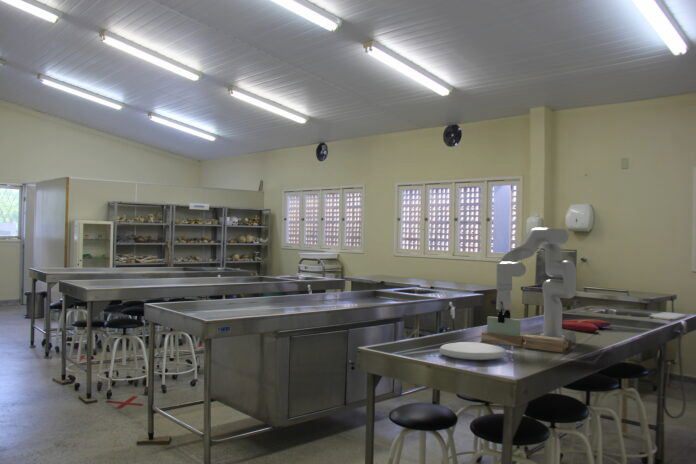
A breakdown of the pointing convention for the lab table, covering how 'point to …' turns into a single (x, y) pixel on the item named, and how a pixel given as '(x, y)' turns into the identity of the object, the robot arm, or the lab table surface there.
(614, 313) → the lab table surface
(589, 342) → the lab table surface
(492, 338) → the cradle
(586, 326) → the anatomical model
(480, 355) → the plate
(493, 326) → the tall sheet
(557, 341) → the rack
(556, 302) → the robot arm
